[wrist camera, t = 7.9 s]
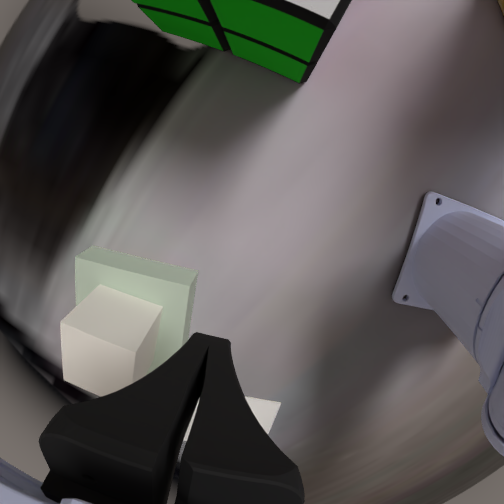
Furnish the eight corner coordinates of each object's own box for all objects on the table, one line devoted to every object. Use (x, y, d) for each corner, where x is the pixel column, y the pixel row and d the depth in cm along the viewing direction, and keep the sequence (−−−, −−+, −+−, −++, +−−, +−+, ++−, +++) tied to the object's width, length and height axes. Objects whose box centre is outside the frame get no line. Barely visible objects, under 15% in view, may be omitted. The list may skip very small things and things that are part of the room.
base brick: (199, 268, 22) (189, 286, 19) (186, 359, 24) (177, 383, 22) (95, 243, 22) (75, 256, 19) (95, 333, 24) (79, 353, 21)
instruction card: (281, 402, 25) (281, 403, 25) (259, 454, 27) (258, 455, 27) (161, 376, 25) (161, 377, 24) (158, 433, 27) (158, 434, 27)
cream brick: (163, 306, 20) (135, 352, 15) (153, 359, 21) (129, 408, 16) (100, 283, 19) (60, 321, 15) (96, 337, 21) (63, 379, 16)
